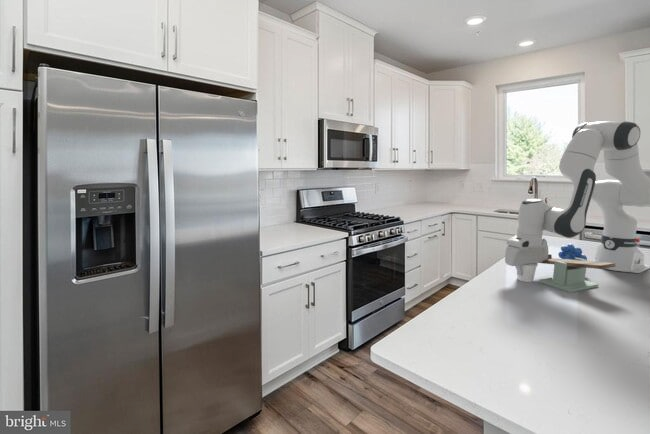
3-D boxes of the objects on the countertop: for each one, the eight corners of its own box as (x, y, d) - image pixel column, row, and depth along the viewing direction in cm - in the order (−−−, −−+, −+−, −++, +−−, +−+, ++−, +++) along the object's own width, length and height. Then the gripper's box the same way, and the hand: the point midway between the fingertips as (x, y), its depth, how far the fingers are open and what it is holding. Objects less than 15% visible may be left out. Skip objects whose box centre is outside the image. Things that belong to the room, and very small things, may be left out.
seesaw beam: (530, 264, 146) (529, 255, 146) (547, 262, 150) (546, 253, 150) (599, 271, 122) (599, 261, 122) (617, 268, 126) (616, 258, 126)
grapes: (551, 269, 157) (553, 242, 155) (560, 267, 159) (563, 241, 158) (579, 277, 146) (582, 248, 144) (588, 275, 149) (592, 247, 147)
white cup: (537, 283, 139) (539, 265, 137) (518, 282, 140) (520, 264, 139) (531, 277, 145) (532, 260, 144) (513, 276, 147) (514, 260, 145)
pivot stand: (566, 277, 146) (569, 254, 145) (598, 286, 135) (601, 262, 134) (539, 282, 140) (541, 258, 138) (570, 292, 129) (573, 267, 128)
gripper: (539, 236, 147) (536, 268, 149) (503, 240, 139) (500, 274, 141) (554, 239, 141) (551, 273, 143) (517, 244, 133) (514, 279, 135)
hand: (525, 273), depth 142 cm, fingers closed on white cup, 5 cm apart
